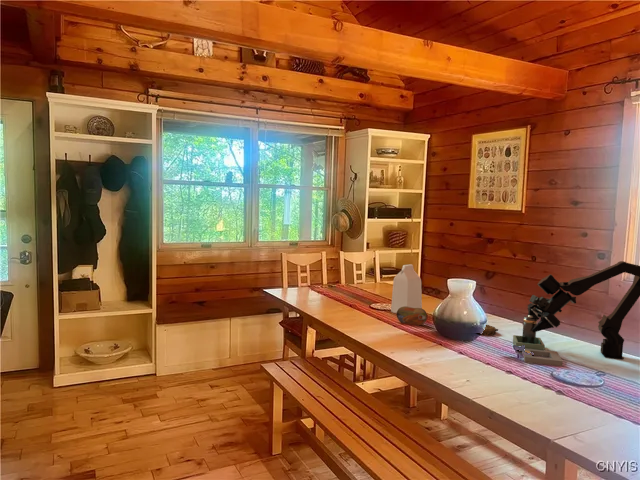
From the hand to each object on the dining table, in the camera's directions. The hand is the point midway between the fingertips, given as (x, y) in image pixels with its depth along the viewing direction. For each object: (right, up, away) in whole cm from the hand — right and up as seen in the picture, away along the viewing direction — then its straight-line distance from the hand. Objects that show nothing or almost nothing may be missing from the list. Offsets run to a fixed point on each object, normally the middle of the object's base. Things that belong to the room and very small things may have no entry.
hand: (527, 328), depth 186 cm
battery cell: (+1, -8, +1) cm, 8 cm away
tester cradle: (0, -10, -12) cm, 15 cm away
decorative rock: (-11, -7, +25) cm, 28 cm away
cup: (0, -9, +1) cm, 9 cm away
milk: (-40, -3, +57) cm, 69 cm away
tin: (-41, -5, +35) cm, 54 cm away
